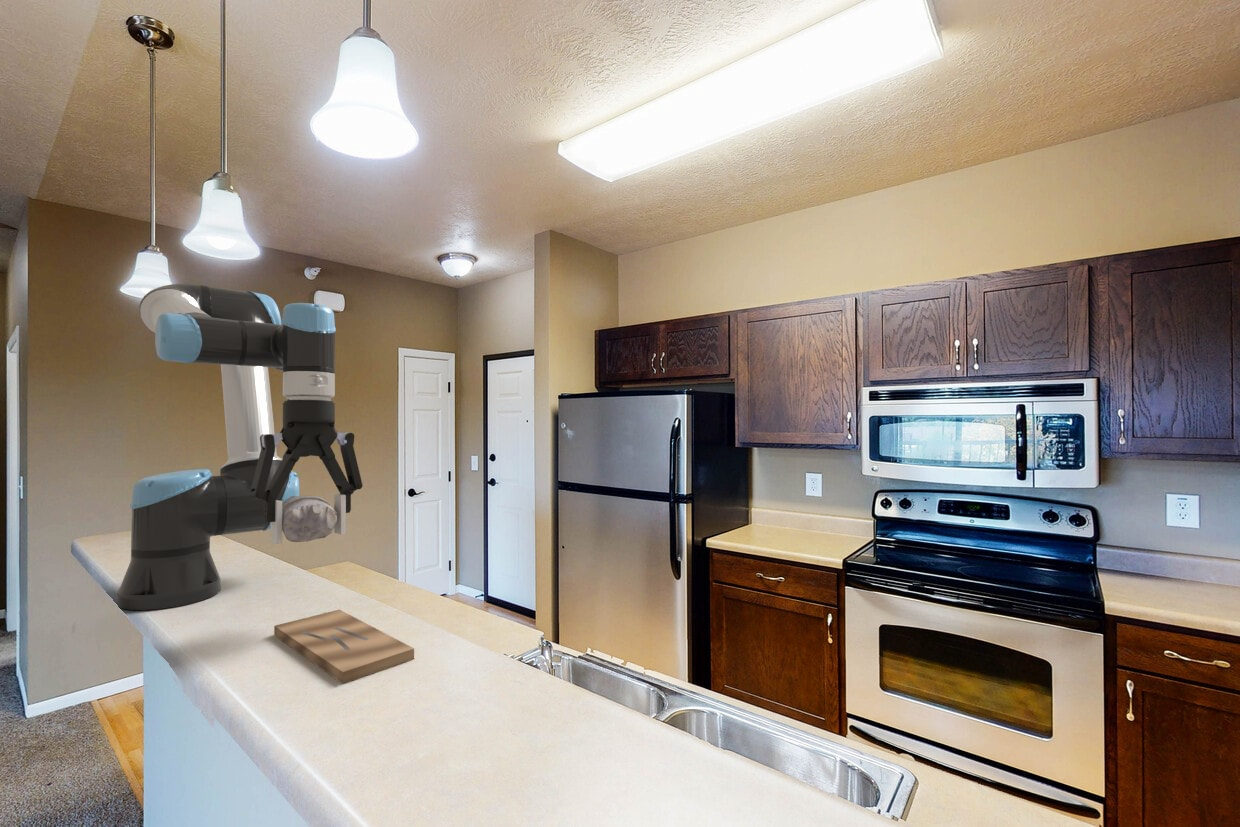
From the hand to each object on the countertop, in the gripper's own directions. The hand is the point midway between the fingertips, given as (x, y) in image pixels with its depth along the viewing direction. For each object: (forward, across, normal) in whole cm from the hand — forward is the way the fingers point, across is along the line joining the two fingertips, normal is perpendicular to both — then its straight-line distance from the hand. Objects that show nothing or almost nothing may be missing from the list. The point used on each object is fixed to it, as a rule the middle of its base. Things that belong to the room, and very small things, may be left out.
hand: (309, 537), depth 93 cm
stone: (+1, 0, 0) cm, 1 cm away
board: (+15, 0, -11) cm, 19 cm away
